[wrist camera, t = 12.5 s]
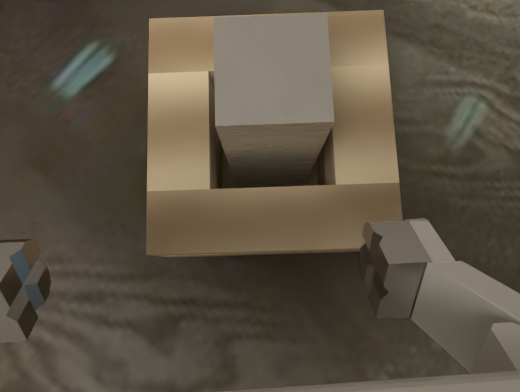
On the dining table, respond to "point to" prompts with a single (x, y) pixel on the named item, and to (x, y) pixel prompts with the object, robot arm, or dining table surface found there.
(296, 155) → the grey square peg
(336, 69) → the frame
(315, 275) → the dining table surface
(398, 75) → the dining table surface
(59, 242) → the dining table surface
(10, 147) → the dining table surface
